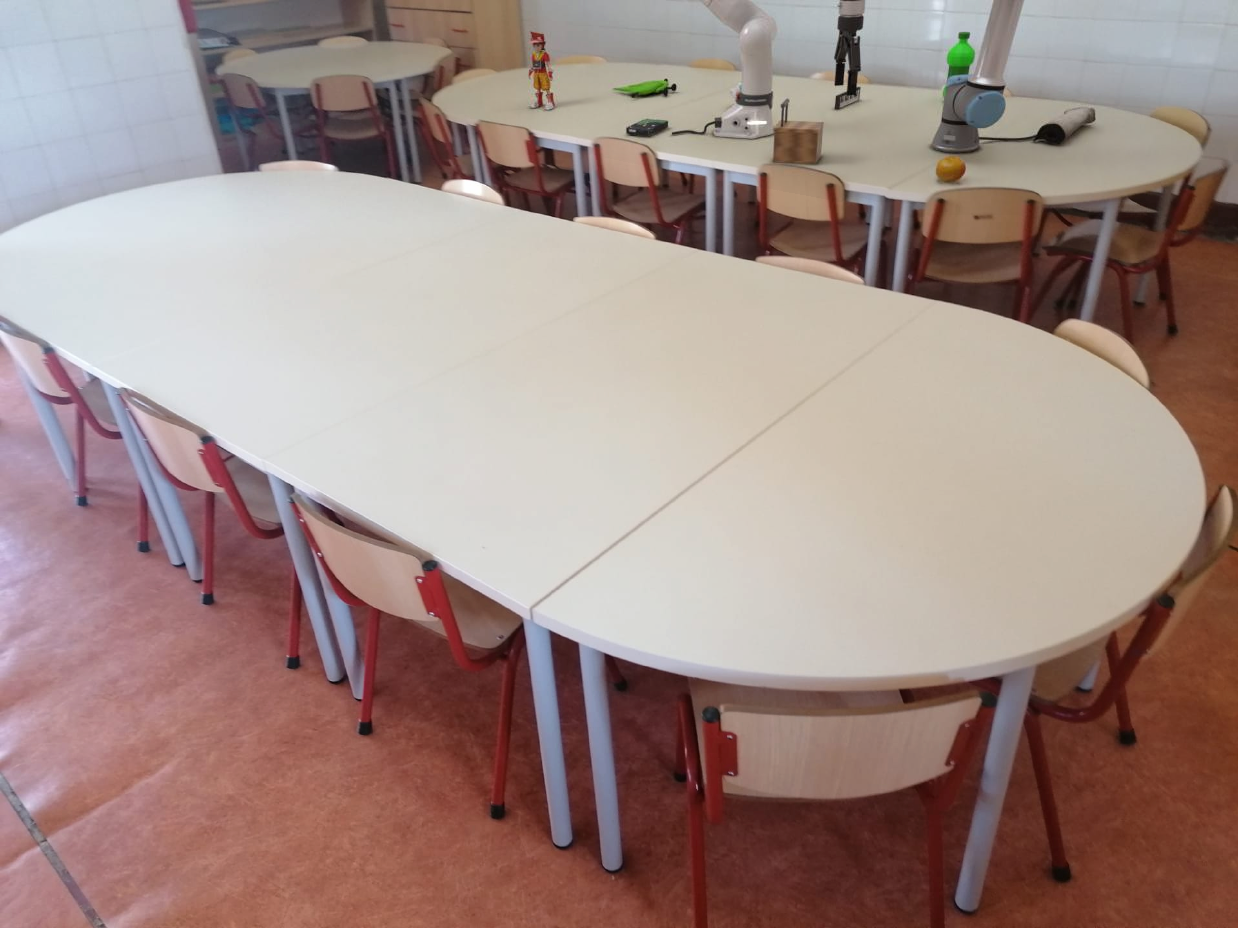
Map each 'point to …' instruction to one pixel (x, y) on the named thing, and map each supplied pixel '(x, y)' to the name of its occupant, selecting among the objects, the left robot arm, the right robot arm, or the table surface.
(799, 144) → the chest
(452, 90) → the table surface
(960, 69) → the plastic bottle
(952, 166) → the fruit
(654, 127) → the disk drive
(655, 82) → the toy
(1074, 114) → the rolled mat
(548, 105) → the toy
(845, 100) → the midi keyboard
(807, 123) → the lid
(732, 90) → the anatomical model
